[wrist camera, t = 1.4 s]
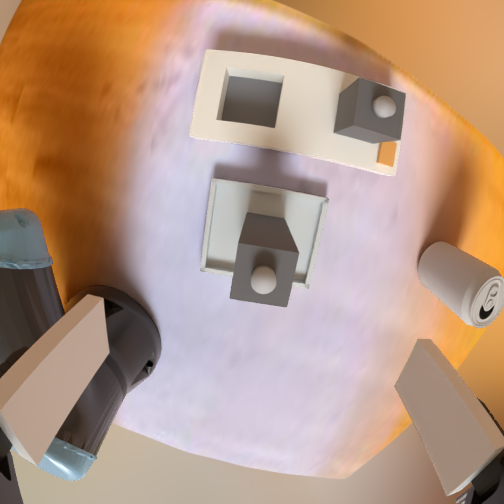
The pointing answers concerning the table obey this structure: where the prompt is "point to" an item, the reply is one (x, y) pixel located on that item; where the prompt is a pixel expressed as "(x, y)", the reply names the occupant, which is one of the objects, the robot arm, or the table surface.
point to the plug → (264, 261)
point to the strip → (298, 110)
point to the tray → (265, 203)
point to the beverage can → (462, 283)
